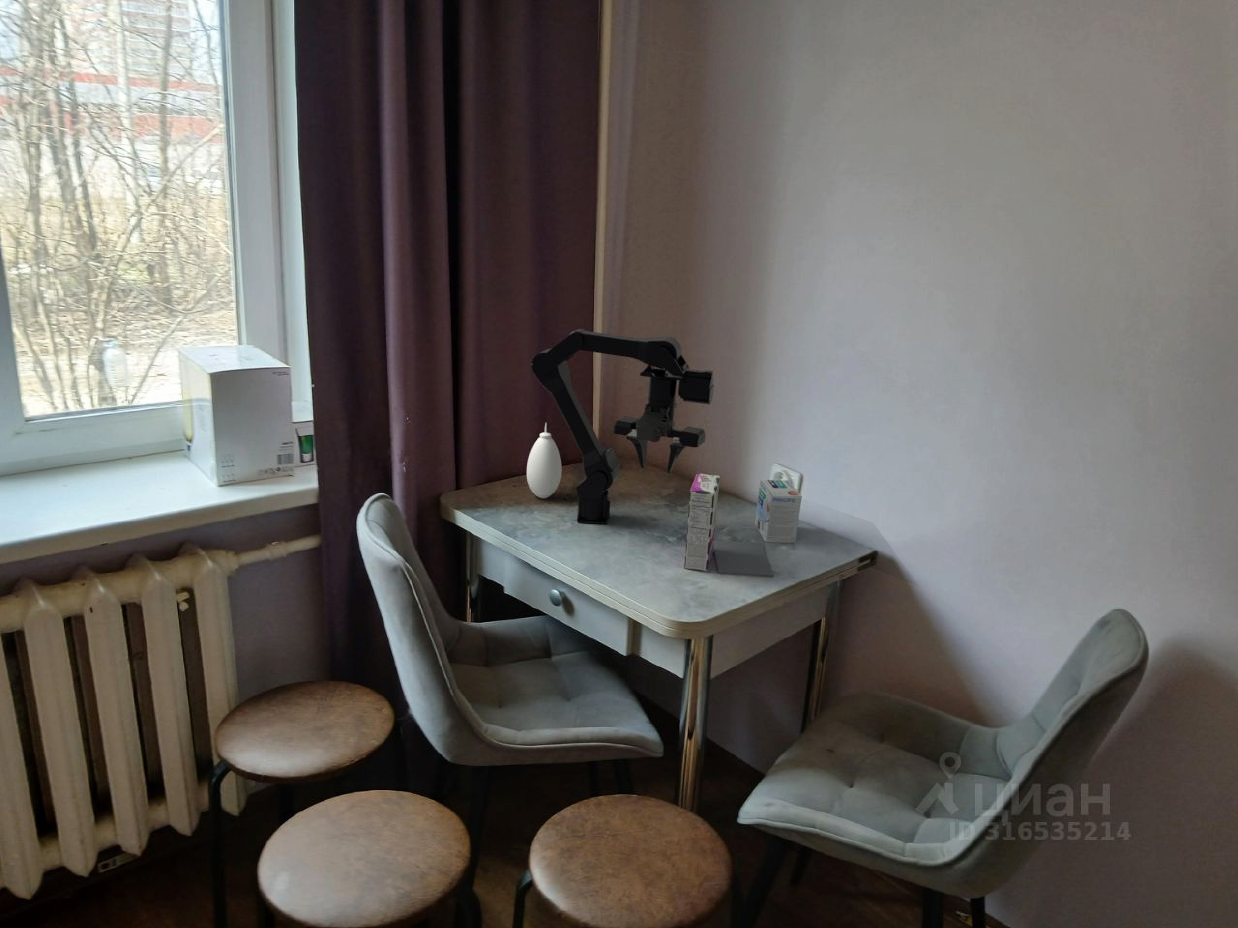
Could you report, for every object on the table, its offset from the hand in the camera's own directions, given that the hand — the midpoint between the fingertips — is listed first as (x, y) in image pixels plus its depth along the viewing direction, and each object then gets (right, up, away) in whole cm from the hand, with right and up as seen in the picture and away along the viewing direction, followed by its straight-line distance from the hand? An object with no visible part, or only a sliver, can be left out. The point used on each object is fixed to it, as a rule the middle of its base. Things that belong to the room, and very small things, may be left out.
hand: (656, 470), depth 184 cm
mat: (+17, -18, -9) cm, 26 cm away
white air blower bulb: (-26, -6, +18) cm, 32 cm away
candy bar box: (+8, -18, -11) cm, 23 cm away
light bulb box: (+26, -14, +5) cm, 30 cm away
